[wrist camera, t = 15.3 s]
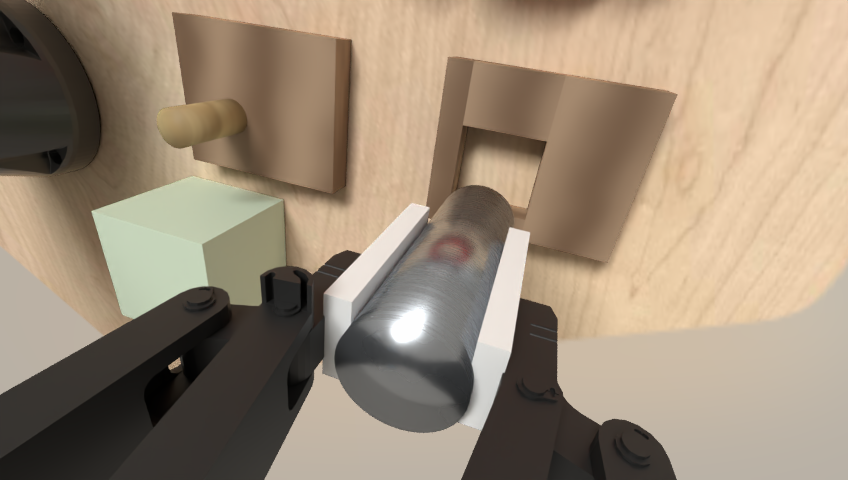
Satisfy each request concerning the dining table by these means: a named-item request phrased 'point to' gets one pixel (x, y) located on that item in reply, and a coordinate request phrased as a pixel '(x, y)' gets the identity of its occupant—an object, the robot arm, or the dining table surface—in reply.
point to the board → (262, 100)
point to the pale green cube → (190, 242)
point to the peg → (428, 318)
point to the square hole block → (555, 146)
